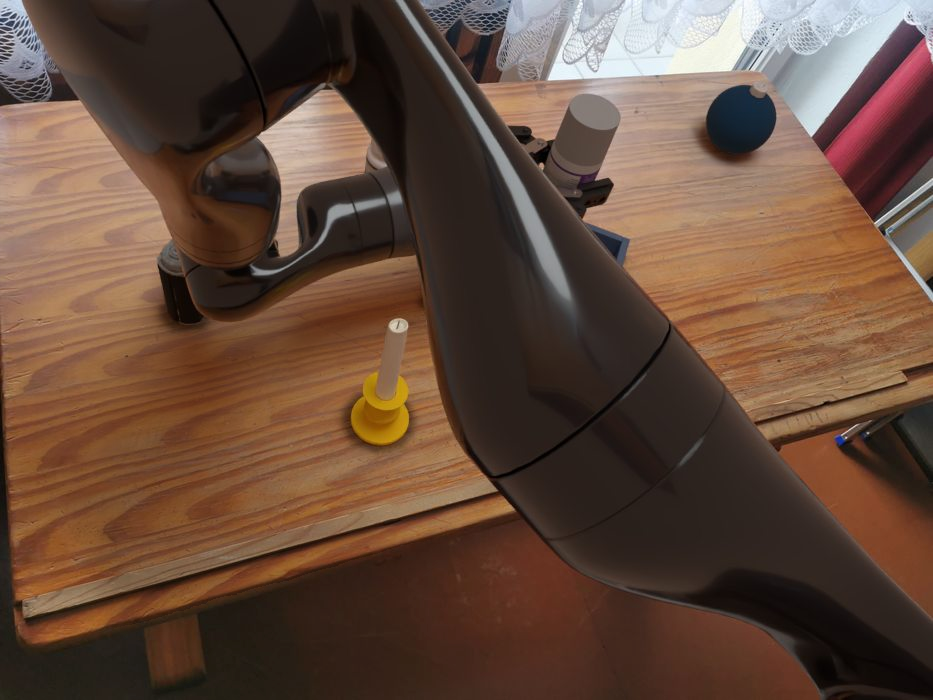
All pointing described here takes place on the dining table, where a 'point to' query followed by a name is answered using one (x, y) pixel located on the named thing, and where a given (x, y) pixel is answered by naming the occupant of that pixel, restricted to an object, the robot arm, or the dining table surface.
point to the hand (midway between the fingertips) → (593, 167)
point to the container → (582, 140)
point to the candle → (384, 394)
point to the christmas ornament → (741, 118)
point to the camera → (177, 287)
